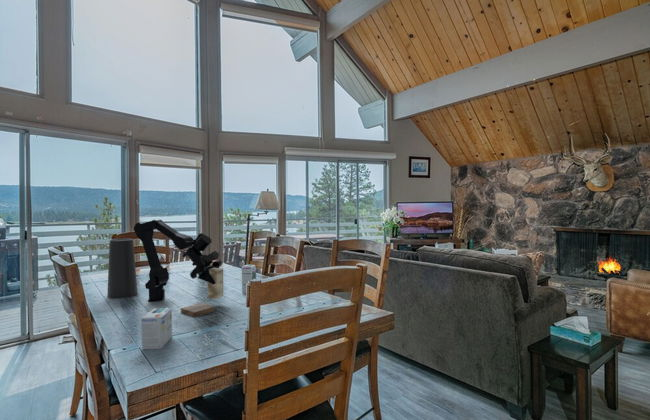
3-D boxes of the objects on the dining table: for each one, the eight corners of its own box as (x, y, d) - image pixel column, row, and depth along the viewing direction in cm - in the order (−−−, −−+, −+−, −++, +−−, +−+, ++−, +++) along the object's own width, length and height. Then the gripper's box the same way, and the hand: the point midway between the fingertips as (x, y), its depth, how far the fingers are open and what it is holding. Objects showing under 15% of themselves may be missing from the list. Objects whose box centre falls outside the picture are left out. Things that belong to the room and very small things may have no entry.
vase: (101, 297, 184) (99, 240, 183) (124, 290, 197) (123, 237, 196) (120, 299, 179) (119, 241, 178) (143, 293, 192) (142, 238, 191)
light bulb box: (153, 337, 129) (152, 307, 129) (172, 337, 130) (172, 307, 130) (140, 350, 119) (140, 317, 118) (162, 349, 119) (161, 316, 119)
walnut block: (180, 313, 158) (180, 308, 158) (200, 308, 166) (200, 302, 166) (194, 318, 152) (194, 312, 152) (214, 312, 160) (214, 306, 160)
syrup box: (252, 294, 188) (252, 266, 188) (241, 293, 189) (241, 266, 189) (256, 291, 194) (256, 264, 193) (246, 291, 195) (245, 264, 194)
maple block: (207, 297, 167) (207, 269, 167) (214, 295, 172) (213, 267, 172) (217, 298, 166) (217, 270, 166) (223, 295, 171) (223, 268, 170)
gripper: (195, 248, 161) (217, 275, 158) (218, 243, 178) (239, 267, 176) (180, 265, 163) (202, 291, 160) (205, 259, 181) (224, 282, 178)
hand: (218, 282), depth 169 cm, fingers closed on maple block, 5 cm apart
